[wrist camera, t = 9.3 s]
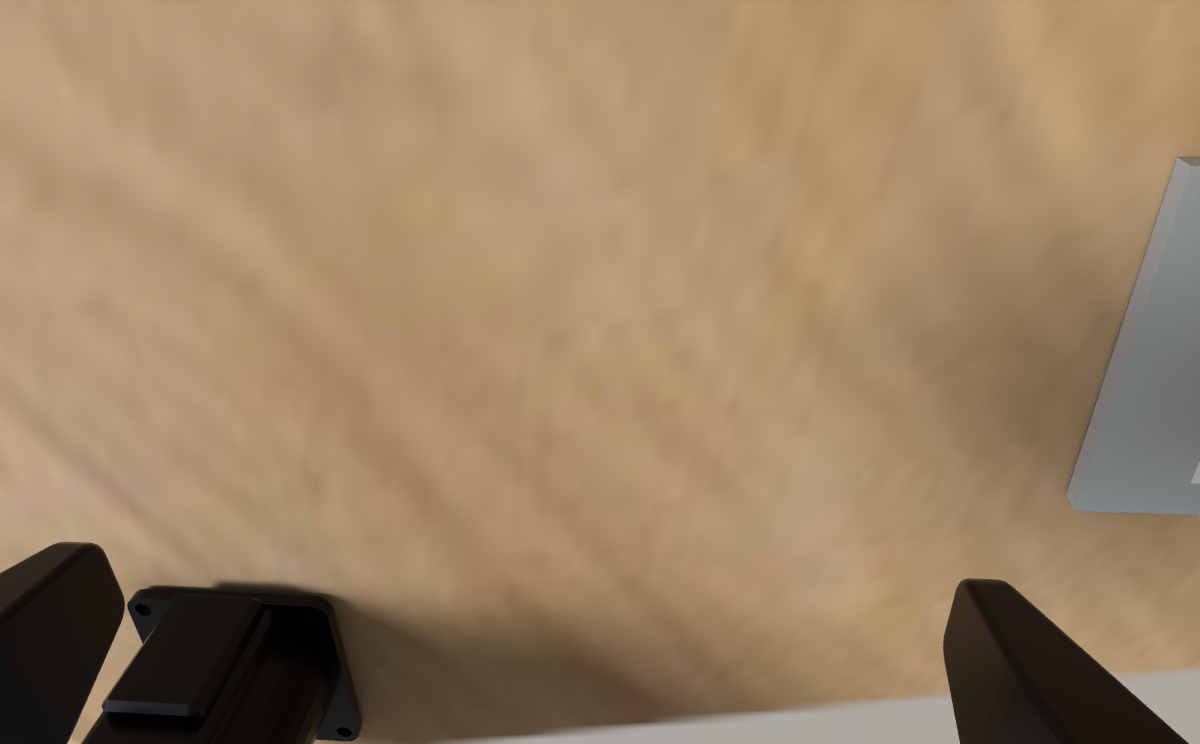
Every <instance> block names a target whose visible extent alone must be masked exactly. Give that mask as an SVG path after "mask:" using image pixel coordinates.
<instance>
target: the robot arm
mask: <svg viewBox="0 0 1200 744" xmlns="http://www.w3.org/2000/svg"><path fill="white" fill-rule="evenodd" d="M127 606H128V610H129V613H130V615H131V617H132V620H133V622H134V624H135V627H136V629H137V631H138V634H139V636H140V638H141V640H142V643H143V645H142V646H141V648H140V649H139V650H138V652H137V653H136V655H135V656H134V658H133V659H132V661H131V662H130V664H129V665H128V666H127V668H126V669H125V671H124V672H123V674H122V675H121V677H120V678H119V679H118V681H117V682H116V684H115V685H114V687H113V688H112V690H111V691H110V693H109V694H108V695H107V697H106V698H105V700H104V701H103V704H102V709H103V712H102V713H101V715H100V716H99V718H98V719H97V721H96V722H95V724H94V725H93V726H92V728H91V729H90V731H89V732H88V734H87V735H86V737H85V738H84V740H83V741H82V743H81V744H314V741H315V739H317V740H334V741H353V740H355V739H357V738H358V736H359V733H360V731H361V728H362V719H361V716H360V712H359V708H358V704H357V700H356V696H355V692H354V689H353V685H352V681H351V677H350V673H349V669H348V665H347V662H346V658H345V654H344V650H343V646H342V642H341V638H340V635H339V631H338V627H337V623H336V619H335V615H334V611H333V608H332V606H331V605H330V604H329V603H328V602H327V601H326V600H324V599H322V598H318V597H308V596H286V595H264V594H242V593H220V592H198V591H175V590H153V589H142V590H139V591H137V592H136V593H135V594H134V595H133V597H132V598H131V599H130V601H129V602H128V605H127ZM124 608H125V602H124V596H123V593H122V591H121V588H120V586H119V584H118V581H117V579H116V577H115V575H114V572H113V570H112V568H111V565H110V563H109V561H108V558H107V556H106V554H105V552H104V550H103V549H102V548H101V547H99V546H98V545H97V544H93V543H81V542H60V543H56V544H53V545H51V546H49V547H47V548H45V549H44V550H42V551H40V552H38V553H36V554H35V555H33V556H31V557H29V558H27V559H25V560H24V561H22V562H20V563H18V564H16V565H14V566H13V567H11V568H9V569H7V570H5V571H3V572H2V573H0V744H67V743H68V741H69V739H70V737H71V735H72V733H73V730H74V728H75V726H76V724H77V721H78V719H79V717H80V715H81V712H82V710H83V708H84V706H85V703H86V701H87V699H88V696H89V694H90V692H91V690H92V687H93V685H94V683H95V681H96V678H97V676H98V674H99V672H100V669H101V667H102V665H103V662H104V660H105V658H106V656H107V653H108V651H109V649H110V647H111V644H112V642H113V640H114V638H115V635H116V633H117V631H118V628H119V626H120V624H121V621H122V618H123V614H124ZM943 652H944V661H945V666H946V671H947V677H948V682H949V687H950V693H951V698H952V703H953V708H954V714H955V719H956V724H957V730H958V735H959V740H960V744H1189V743H1187V742H1186V741H1185V740H1184V739H1183V738H1182V737H1181V736H1180V735H1178V734H1177V733H1176V732H1175V731H1174V730H1173V729H1172V728H1170V726H1168V725H1167V724H1166V723H1165V722H1164V721H1163V720H1162V719H1160V718H1159V717H1158V716H1157V715H1156V714H1155V713H1154V712H1153V711H1151V710H1150V709H1149V708H1148V707H1147V706H1146V705H1145V704H1144V703H1142V702H1141V701H1140V700H1139V699H1138V698H1137V697H1136V696H1135V695H1133V694H1132V693H1131V692H1130V691H1129V690H1128V689H1127V688H1126V687H1125V686H1123V685H1122V684H1121V683H1120V682H1119V681H1118V680H1117V679H1116V678H1115V677H1113V676H1112V675H1111V674H1110V673H1109V672H1108V671H1107V670H1106V669H1104V668H1103V667H1102V666H1101V665H1100V664H1099V663H1098V662H1097V661H1095V660H1094V659H1093V658H1092V657H1091V656H1090V655H1089V654H1088V653H1086V652H1085V651H1084V650H1083V649H1082V648H1081V647H1080V646H1079V645H1077V644H1076V643H1075V642H1074V641H1073V640H1072V639H1071V638H1070V637H1069V636H1067V635H1066V634H1065V633H1064V632H1063V631H1062V630H1061V629H1060V628H1058V627H1057V626H1056V625H1055V624H1054V623H1053V622H1052V621H1051V620H1049V619H1048V618H1047V617H1046V616H1045V615H1044V614H1043V613H1042V612H1040V611H1039V610H1038V609H1037V608H1036V607H1035V606H1034V605H1033V604H1031V603H1030V602H1029V601H1028V600H1027V599H1026V598H1025V597H1024V596H1022V595H1021V594H1020V593H1019V592H1018V591H1017V590H1016V589H1015V588H1014V587H1012V586H1011V585H1010V584H1008V583H1006V582H1005V581H1002V580H994V579H970V578H969V579H964V580H962V581H961V582H960V583H959V585H958V586H957V589H956V592H955V596H954V600H953V603H952V607H951V611H950V615H949V619H948V622H947V626H946V630H945V634H944V641H943Z"/></svg>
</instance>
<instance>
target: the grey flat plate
mask: <svg viewBox="0 0 1200 744" xmlns="http://www.w3.org/2000/svg"><path fill="white" fill-rule="evenodd" d="M1066 498H1067V499H1068V501H1069V503H1070V504H1071V506H1072V507H1073V509H1074V511H1090V512H1119V513H1149V514H1178V515H1200V157H1177V160H1176V163H1175V166H1174V169H1173V172H1172V175H1171V178H1170V181H1169V184H1168V187H1167V190H1166V193H1165V196H1164V199H1163V202H1162V205H1161V208H1160V211H1159V214H1158V217H1157V220H1156V223H1155V226H1154V230H1153V233H1152V236H1151V239H1150V242H1149V245H1148V248H1147V251H1146V254H1145V257H1144V260H1143V263H1142V266H1141V269H1140V272H1139V275H1138V278H1137V281H1136V284H1135V287H1134V290H1133V293H1132V296H1131V299H1130V302H1129V305H1128V308H1127V311H1126V314H1125V317H1124V320H1123V323H1122V327H1121V330H1120V333H1119V336H1118V339H1117V342H1116V345H1115V348H1114V351H1113V354H1112V357H1111V360H1110V363H1109V366H1108V369H1107V372H1106V375H1105V378H1104V381H1103V384H1102V387H1101V390H1100V393H1099V396H1098V399H1097V402H1096V405H1095V408H1094V411H1093V414H1092V417H1091V420H1090V423H1089V427H1088V430H1087V433H1086V436H1085V439H1084V442H1083V445H1082V448H1081V451H1080V454H1079V457H1078V460H1077V463H1076V466H1075V469H1074V472H1073V475H1072V478H1071V481H1070V484H1069V487H1068V490H1067V493H1066Z"/></svg>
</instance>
